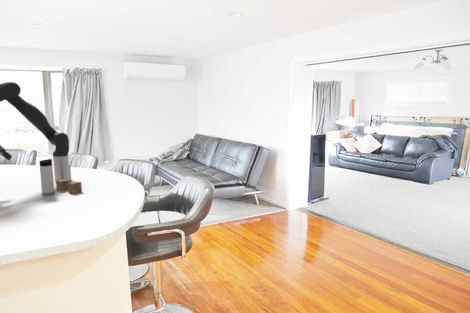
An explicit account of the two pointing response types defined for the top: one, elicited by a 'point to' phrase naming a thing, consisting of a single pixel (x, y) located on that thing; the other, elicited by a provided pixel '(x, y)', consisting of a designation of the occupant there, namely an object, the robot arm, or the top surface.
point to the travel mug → (47, 177)
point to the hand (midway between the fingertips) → (10, 158)
